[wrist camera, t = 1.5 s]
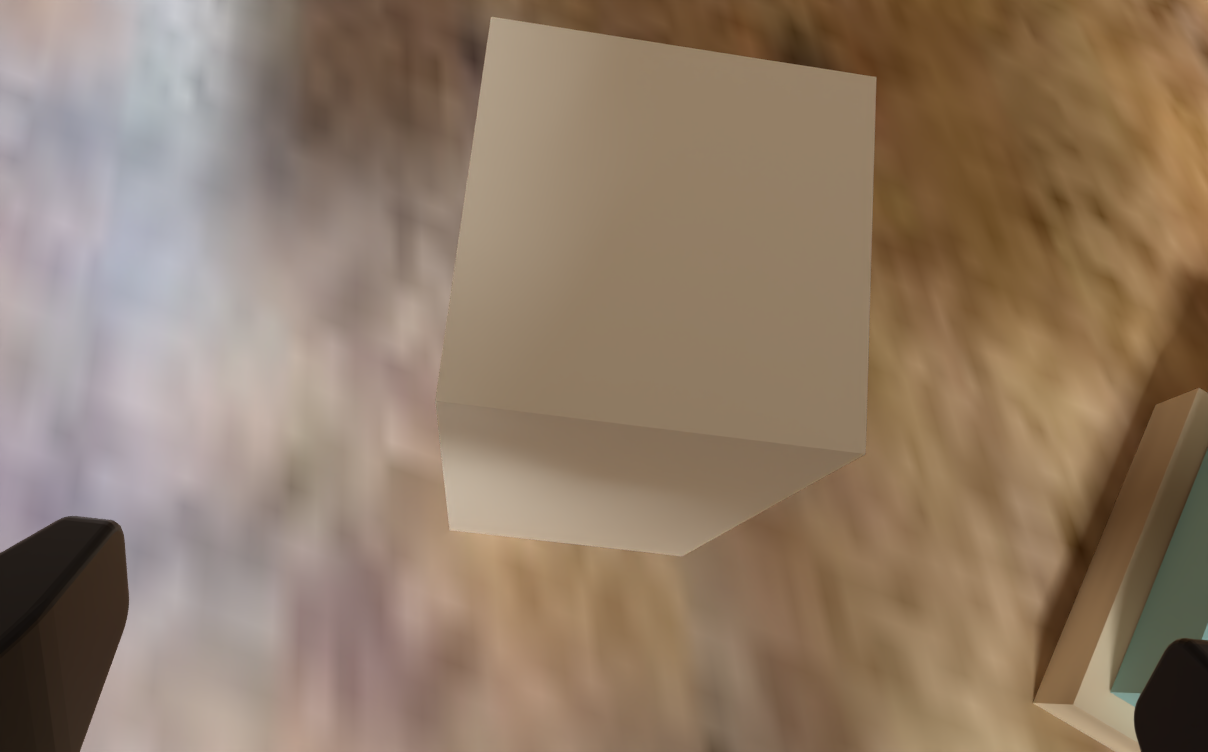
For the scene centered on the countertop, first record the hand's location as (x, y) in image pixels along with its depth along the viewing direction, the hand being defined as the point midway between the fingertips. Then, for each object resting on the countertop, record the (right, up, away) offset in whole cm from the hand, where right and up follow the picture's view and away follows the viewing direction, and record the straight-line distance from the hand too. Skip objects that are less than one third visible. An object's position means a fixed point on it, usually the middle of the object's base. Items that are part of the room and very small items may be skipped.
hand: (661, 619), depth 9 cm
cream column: (-1, +1, +12) cm, 12 cm away
